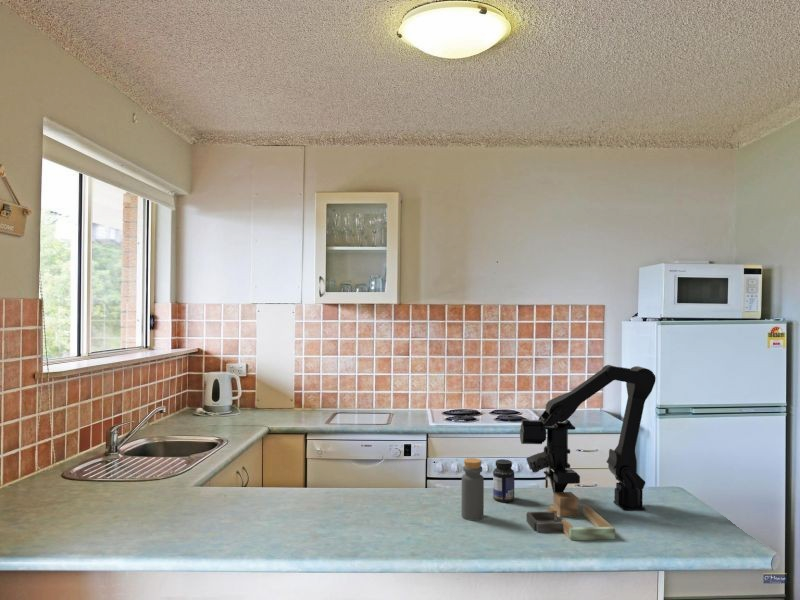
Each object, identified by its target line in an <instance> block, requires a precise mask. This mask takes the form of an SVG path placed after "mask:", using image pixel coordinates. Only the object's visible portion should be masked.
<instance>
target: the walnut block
mask: <svg viewBox="0 0 800 600" xmlns="http://www.w3.org/2000/svg"><path fill="white" fill-rule="evenodd" d="M553 507H554V508H555V509H556V510H557V516H559V517H560V518H565V517H566V516H573V517H579V497H578V496H576V495H575V494H574V493H573V492H572V491H564V492H554V493H553Z"/></svg>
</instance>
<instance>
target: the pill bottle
mask: <svg viewBox="0 0 800 600" xmlns="http://www.w3.org/2000/svg"><path fill="white" fill-rule="evenodd" d="M512 466H513V462H512V461H511V460H510V459H501V458H500V459H497V460H495V467H496V468H494V469H493V472H492V473H493V474H492V475H493V476H492V478H493V479H492V480H493V482H492V484H493V485H492V487H493V489H492V490H493V491H492V492H493V493H492V494H493V495H492V497H493V500H494V501H497V502H500V503H501V502H502V503H510V502H511V503H512V502H514V500H515V470H513V469H512Z"/></svg>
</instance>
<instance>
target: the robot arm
mask: <svg viewBox="0 0 800 600" xmlns="http://www.w3.org/2000/svg"><path fill="white" fill-rule="evenodd" d="M656 379H657V377H656V375H655V373H654V372H653V371H652V370H651V369H649V368H646V367H643V366H639V365H638V366H633V367H631V368H628V367H622V366H621V367H620V366H614V365H611V364H606V365H604V366H603V367H602V368H601V369H600V370H598V371H597V372H595V374H593V375H591V376H590V377H588V379H586V380H585V381H583V382H582V383H581V384H579V385H578V386H576V387H575V388H573V389H572V390H570V391H568V392H565V393H563V394H560V395H558V396H556V397H554V398H551V399H549V400H548V401H547V402H546V404H545V410H544V411H543V412H542V413H541V415H540V416H539V417H538V420H537V419H534V420H533V419H527V418H526V419H524V418H522V419H521V423H520V424H521V425H520V428H519V438H520V440H519V441H520V443H521V444H522V445H525V444H526V445H542V444H543V443H545V441H546V445H544V447H543V451H542V452H537V453H536V454H533V455H530V456H527V457H526V458H525V459H526V462H527V465H528V467H529V470H530V471H532V473H538V472H539V471H542V470H544V471H543V473H544V475H545V476H546V477H547V478H548V479H549V481H550V485H551V489H552V493H553V494H554V492H565V489H566V488H567V486H568V485H574V484H576V485H577V484H580V483H581V475H579V474H578V472H576V471H575V470H574V469H572V468H571V464H570V463H568V462H569V461H568V460H569V455H568V454H571V449H570V448H569V445H568V444H569V431H570V430H572V431H573V430H574V431H575V430H576V427H575V426H574V425H573V424H572V423H571V421H570V420H569V419H570V418H571V416H572V415H574V413H575V412H576V411H577V409H578V408H579V406H580V405H581V404H583V403H584V402H585V401H587V400H588V399H590V398H591V397H592V396H594V395H595V394H596V393H598V392H599V391H601V390H602V389H604V388H605V387H606V386H608V385H610V384H611V383H612V382H613V381H617V382H624V383H626V384H625V385H626V391H627V392H626V393H627V400H626V406H625V410H624V414H623V420H622V424H621V430H620V435H619V439H618V444H617V446H616V447H615V449H612V448H609V450H608V458H607V460H606V463H607V464H608V466H607V467H608V470H609V471H610V473H611V474H612V475H613V476H614V477H615V480H616V481H618V482H615V488H614V500H613V503H614V504H615V505H616V506H617V507H619V508H620V509H622V510H623V511H633V510H634V511H635V510H636V511H641V510H642V511H643V510H644V511H645V510H646V507H645V505H643V504H644V503H643V501H644V499H643V496H644V495H643V489H644V488H645V485H646V481H645V480H644V479H643V478H642V477H641V476H640V475H639V474H638V472H637V470H638V469H637V468H638V461H637V460H638V459H637V455H636V448H637V441H638V436H639V432H640V427H641V422H642V417H643V412H644V408H645V403H646V400H647V398H649V396H650V394H651V393H652V391H653V388H654V386H655V384H656ZM545 470H546V471H545Z"/></svg>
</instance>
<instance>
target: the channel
mask: <svg viewBox="0 0 800 600" xmlns="http://www.w3.org/2000/svg"><path fill="white" fill-rule="evenodd" d="M582 507H583V510H582V515H583V516H584V517H585V518H586V519H587V520H588V521H589V522H590V523H591V524H593V525H594V526H588V527H587V526H586V527H583V526H582V527H574V526H573V525H572V524H571V523H570V522H569V521H568V520H567V519H561V521H558V514H557V510H556V509H555V508H554V505H548V506H547V511H527V512H526V514H525V515H526V518H525V519H526V522H527V523H528V525H529V526H530V528H532V530H533V531H534V532H537V533H557V532H563V534H564V535H565V536H567V538H568V539H569V540H570V541H578V540H579V541H581V540H582V541H583V540H584V541H585V540H587V541H588V540H589V541H590V540H591V541H592V540H615V539H616V528H615V527H614V526H612V525H611V524H610V523H609V522H608V521H607V520H606V519H604V518H603V517H602V516H601V515H599V513H598V512H596V511H595V510H594V509H593V508H591V507H590V506H589V505H587V504H586V505H585V504H584V505H582Z"/></svg>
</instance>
